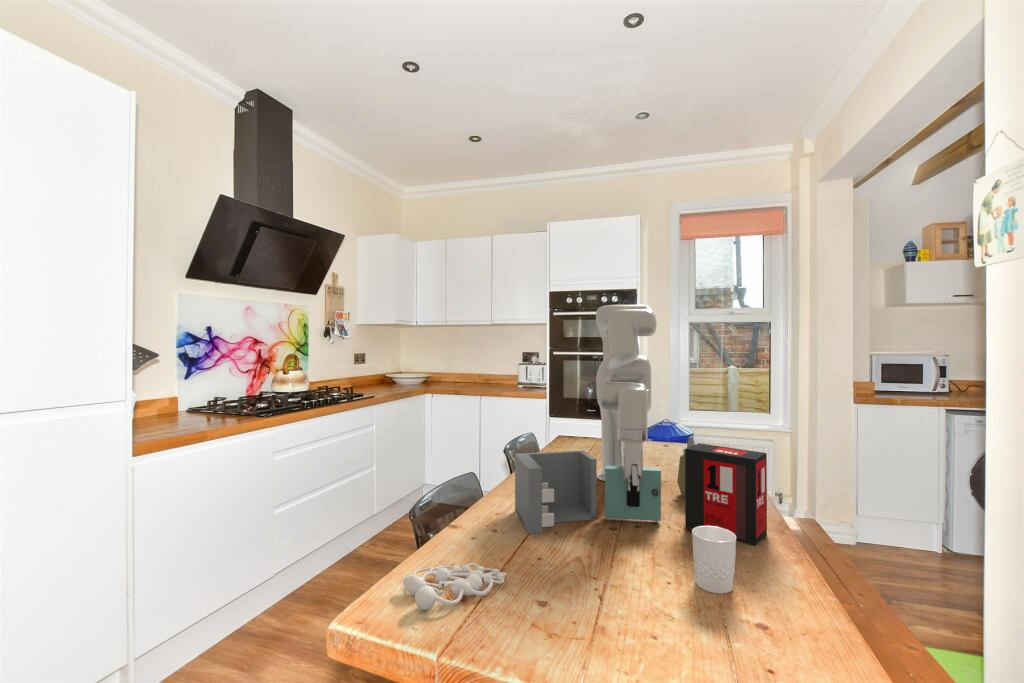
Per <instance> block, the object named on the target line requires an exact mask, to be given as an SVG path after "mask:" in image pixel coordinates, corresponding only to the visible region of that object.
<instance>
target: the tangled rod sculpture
mask: <svg viewBox="0 0 1024 683" xmlns="http://www.w3.org/2000/svg"><path fill="white" fill-rule="evenodd" d="M470 566H473V567H476V570H473V569H471V568H470ZM449 569H451V570H449ZM485 571H488V572H485ZM489 571H490V572H489ZM420 572H426V573H424V574H423V575H422V576H419V575H417V573H420ZM431 576H434V578H435V581H436V582H437V583H432V582H427V581H426V580H425V579H427V578H428V577H431ZM506 576H507V572H504V571H500V570H499V569H498V568H489V567H488V568H487V567H484V565H483V566H482V565H478V564H477V563H473V562H471V563H468V564H464V565H463V566H462V565H441V566H439V565H438V566H434V567H425V568H419V569H416V570H415V571H414V572H413V574H408V575H405V576H404V577H403V579H402V584H403V586H404V588H405V590H406V591H407V592H408V593H409V594H410V595H411V596H414V602H415V605H416V607H417V608H419V610H422V611H428V610H430V609H431V608H433V607H434V606H435V604H436V602H438V603H441V604H443V605H447V606H454V605H458V603H459V602H461V600H462V599H463V596H472V595H474V596H477V597H478V596H479V597H484V596H486V595H487V594H489V592H490V591H491V590H492V589H493V586H494V584H499V585H500V584H501V585H502V584H504V581H505V577H506ZM462 577H466V578H462ZM450 579H451V580H450ZM483 582H484V584H487V585H488V586H487V587H486V588H485V590H482V587H483ZM442 585H443V586H444V587H447V586H448V585H450V589H451V592H452V593H453V594H454V595H456V596H457V597H456V599H454V600H449V599H446V598H443V597H440V596H441V595H443V593H444V592H443V590H442V589H441V588H442ZM481 590H482V591H481ZM436 592H437V593H438V594H437V593H436ZM459 604H460V603H459Z"/></svg>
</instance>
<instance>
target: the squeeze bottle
mask: <svg viewBox="0 0 1024 683" xmlns="http://www.w3.org/2000/svg"><path fill="white" fill-rule="evenodd" d="M693 445H696V444H695V440H694V436H689V437H688V441H687V445H686V447H683V448H682V455H681V456H680V457H679V461H678V462H679V463H678V473H677V486H678V489H679V492H680V495H681V496H682V497H684V498H685V449H686V448H688V447H691V446H693Z"/></svg>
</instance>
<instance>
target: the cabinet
mask: <svg viewBox="0 0 1024 683" xmlns="http://www.w3.org/2000/svg"><path fill="white" fill-rule="evenodd" d="M597 461H598V460H597V458H595V457H594V456H592V455H591V454H589V453H588V452H586V451H585V450H568V451H567V450H565V451H549V452H548V451H546V452H545V451H544V452H527V453H525V452H524V453H515V454H514V512H515V514H516V516H517V517H518V519H519V520H520V522H521V523H522V525H523V527H524V529H525V531H526V533H527V534H528V535H534V534H535V535H536V534H537V535H538V534H543V528H547V527H548V528H549V527H554V526H555V523H565V522H567V523H568V522H579V521H591V520H597V517H598V516H597V515H598V514H597V513H598V512H597V494H598V493H597V486H598V485H597V482H598V480H597V479H598V478H597V474H598V472H597V469H598V468H597V466H598V465H597Z"/></svg>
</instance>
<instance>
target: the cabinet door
mask: <svg viewBox="0 0 1024 683" xmlns="http://www.w3.org/2000/svg"><path fill="white" fill-rule="evenodd" d="M631 471H632V468H631ZM630 479H632V477H630ZM631 483H632V482H630V484H631ZM627 490H628V479H626V480H624V479H623V478H622V468H621V466H605V481H604V516H605V517H604V518H605V519H615V520H630V521H631V520H635V521H651V522H652V521H654V522H661V521H662V470H661V468H660V467H657V466H656V467H655V466H654V467H649V466H643V477H642V480H641V481H640V480H639V491H640V506H639V507H630V506H627Z"/></svg>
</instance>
